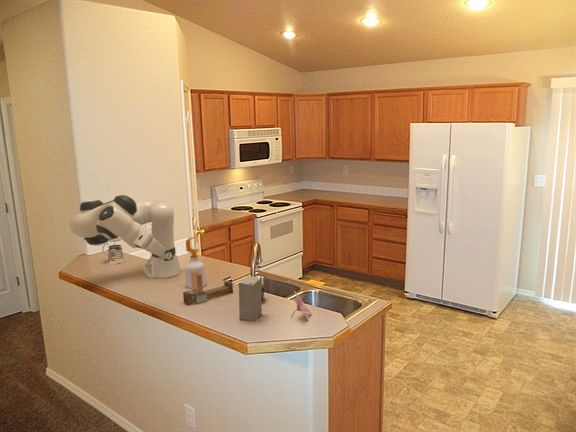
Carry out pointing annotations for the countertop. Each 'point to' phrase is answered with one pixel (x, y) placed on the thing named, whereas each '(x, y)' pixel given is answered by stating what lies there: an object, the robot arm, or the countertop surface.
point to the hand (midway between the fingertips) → (162, 255)
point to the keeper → (198, 288)
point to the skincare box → (250, 298)
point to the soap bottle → (193, 265)
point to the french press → (116, 249)
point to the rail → (210, 293)
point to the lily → (301, 306)
